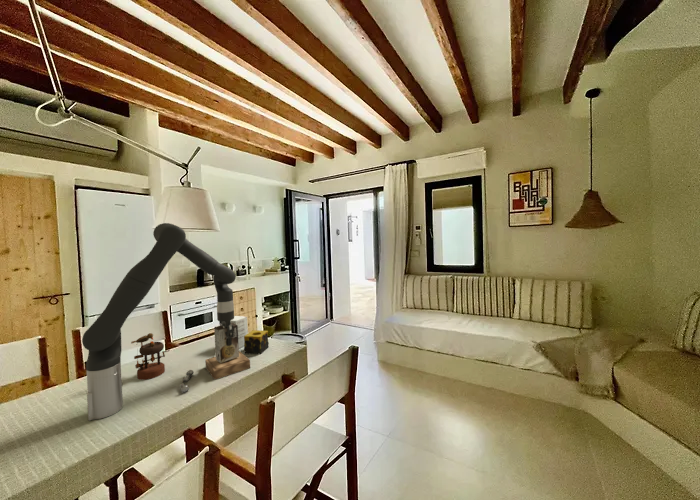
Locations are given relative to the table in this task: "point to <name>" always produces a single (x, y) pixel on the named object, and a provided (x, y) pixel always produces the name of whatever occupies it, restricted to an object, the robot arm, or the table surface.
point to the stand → (227, 366)
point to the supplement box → (241, 328)
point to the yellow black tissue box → (256, 342)
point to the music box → (151, 348)
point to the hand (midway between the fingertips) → (226, 343)
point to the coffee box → (221, 348)
